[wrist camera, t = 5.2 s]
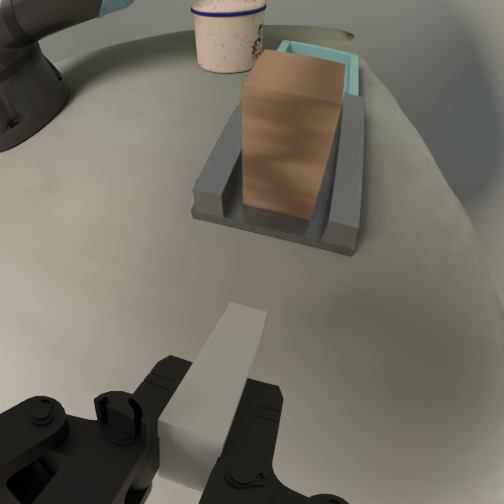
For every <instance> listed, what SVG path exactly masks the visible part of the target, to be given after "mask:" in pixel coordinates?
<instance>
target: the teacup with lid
mask: <svg viewBox="0 0 504 504" xmlns="http://www.w3.org/2000/svg"><path fill="white" fill-rule="evenodd" d="M265 9H266V4H265V1H264V0H196V1H195V2H194V3H193V4H192V7H191V12H192V13H193V17H194V27H195V39H196V49H197V59H198V64H199V65H200V66H201V67H202V68H203V69H205V70H208V71H211V72H216V73H237V72H243V71H247V70H250V69H252V68H253V66H254V65H255V63H256V62H257V60H258V59H259V57H260V56H261V54H262V53H263V31H264V10H265Z"/></svg>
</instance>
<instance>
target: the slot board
mask: <svg viewBox="0 0 504 504" xmlns="http://www.w3.org/2000/svg"><path fill="white" fill-rule="evenodd" d="M363 159H364V98H363V97H360V96H356V95H353V94H349V93H344V97H343V101H342V107H341V111H340V115H339V119H338V123H337V126H336V130H335V134H334V138H333V142H332V146H331V149H330V153H329V157H328V160H327V164H326V168H325V171H324V175H323V179H322V182H321V186H320V189H319V193H318V196H317V200H316V203H315V207H314V210H313V213H312V217H311V220H308V219H304V218H300V217H296V216H291V215H287V214H283V213H279V212H275V211H270V210H266V209H262V208H257V207H253V206H248V205H244V204H243V174H242V109H241V100H240V102H239V103H238V105H237V107H236V109H235V110H234V112H233V114H232V116H231V118H230V119H229V121H228V123H227V125H226V127H225V128H224V130H223V132H222V134H221V136H220V137H219V139H218V141H217V143H216V145H215V147H214V149H213V151H212V152H211V154H210V156H209V158H208V160H207V162H206V164H205V166H204V168H203V170H202V172H201V174H200V176H199V178H198V180H197V182H196V184H195V186H194V188H193V194H194V199H195V203H194V205H193V207H192V209H191V212H192V216H193V218H195V219H199V220H203V221H208V222H212V223H216V224H221V225H225V226H229V227H234V228H238V229H242V230H246V231H250V232H255V233H259V234H263V235H267V236H271V237H275V238H280V239H284V240H288V241H292V242H296V243H300V244H304V245H308V246H312V247H316V248H320V249H324V250H328V251H332V252H336V253H340V254H344V255H348V256H351V255H352V254H353V252H354V250H355V245H356V236H357V231H358V229H359V222H360V210H361V196H362V180H363Z"/></svg>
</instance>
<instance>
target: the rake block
mask: <svg viewBox="0 0 504 504" xmlns="http://www.w3.org/2000/svg"><path fill="white" fill-rule="evenodd" d="M345 65H346V64H343V63H338V62H334V61H330V60H325V59H321V58H316V57H311V56H305V55H300V54H294V53H288V52H282V51H275V50H268V49H265V50H264V51H263V53H262V54H261V56H260V57H259V59H258V60H257V62H256V63H255V65H254V66H253V68H252V69H251V71H250V72H249V74H248V75H247V77H246V79H245V80H244V82H243V83H242V85H241V109H242V174H243V204H244V205H248V206H253V207H257V208H262V209H266V210H270V211H275V212H279V213H283V214H287V215H291V216H296V217H300V218H304V219H308V220H311V217H312V213H313V210H314V207H315V203H316V200H317V196H318V193H319V189H320V186H321V182H322V179H323V175H324V171H325V168H326V164H327V160H328V157H329V153H330V149H331V146H332V142H333V138H334V134H335V130H336V126H337V123H338V119H339V115H340V111H341V107H342V100H343V89H344V78H345Z"/></svg>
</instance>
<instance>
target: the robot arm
mask: <svg viewBox="0 0 504 504" xmlns="http://www.w3.org/2000/svg"><path fill="white" fill-rule="evenodd" d="M133 2H134V0H0V152H2V151H5V150H7V149H9V148H12V147H14V146H15V145H17V144H19V143H21V142H22V141H24V140H25V139H27V138H28V137H30V136H31V135H33V134H34V133H35V132H37V131H38V130H39V129H40V128H42V127H43V126H44V125H45V124H46V123H48V122H49V121H50V120H51V119H52V118H53V117H54V116H55V115H56V114H57V113H58V112H59V110H60V109H61V108H62V107H63V105H64V104H65V102H66V101H67V99H68V96H69V88H68V85H67V82H66V80H65V78H64V76H63V75H62V74H61V73H60V72H59V71H58V70H57V69H56V68H55V66H54V65H53V64H52V63H51V62H50V61H49V60H48V59H47V58H46V57H45V56H44V54H43V53H42V51H41V49H40V46H39V43H38V40H41V39H43V38H45V37H47V36H50V35H52V34H54V33H57V32H59V31H62V30H64V29H67V28H69V27H72V26H74V25H77V24H80V23H83V22H85V21H88V20H91V19H94V18H97V17H98V18H102V17H103V16H104V15H107V14H110V13H112V12H116V11H119V10H122V9H125V8H127V7H128V6H130V5H131V4H132V3H133ZM267 314H268V312H267V311H263V310H260V309H256V308H252V307H248V306H245V305H241V304H237V303H234V302H230V304H229V305H228V307H227V308H226V310H225V312H224V313H223V315H222V317H221V318H220V320H219V322H218V323H217V325H216V326H215V328H214V330H213V331H212V333H211V335H210V336H209V338H208V339H207V341H206V343H205V344H204V346H203V348H202V349H201V351H200V352H199V354H198V356H197V357H196V359H195V361H194V362H190V361H187V360H184V359H181V358H178V357H175V356H172V355H170V356H168V357H166V358H164V359H162V360H160V361H158V363H157V364H156V365H155V366H154V368H153V369H152V370H151V372H150V373H149V374H148V375H147V377H146V378H145V379H144V382H142V383H141V384H140V386H139V387H138V388H137V389H136V391H135V392H134V393H133V394H130V393H127V392H123V391H110V392H106V393H103V394H100V395H99V396H98V397H96V398H95V399H94V404H95V410H96V415H97V420H88V419H84V418H79V417H75V416H71V415H67V414H66V413H65V410H64V408H63V407H62V405H61V404H60V403H59V402H58V401H56V400H55V399H53V398H50V397H46V396H35V397H32V398H29V399H27V400H25V401H23V402H21V403H19V404H18V405H16V406H14V407H12V408H10V409H8V410H7V411H5V412H3V413H1V414H0V504H144V503H145V501H146V499H147V498H148V496H149V494H150V492H151V488H152V479H153V478H154V476H155V474H156V472H157V470H158V474H159V476H160V477H163V478H165V479H168V480H171V481H173V482H176V483H179V484H182V485H184V486H187V487H190V488H193V489H196V490H199V491H203V494H202V496H201V499H200V502H199V504H349V503H348V502H346V501H345V500H344V499H343V498H340V497H338V496H335V495H333V494H318V495H314V496H311V497H306V496H304V495H302V494H300V493H297V492H295V491H293V490H291V489H289V488H288V487H286V486H284V485H283V484H282V483H281V482H280V481H279V480H278V479H277V477H276V475H275V474H274V471H273V468H272V460H273V455H274V450H275V444H276V439H277V433H278V428H279V422H280V416H281V411H282V405H283V399H284V398H283V396H282V393H281V391H280V388H279V386H276V385H272V384H268V383H264V382H260V381H256V380H253V379H250V376H251V373H252V370H253V367H254V363H255V360H256V356H257V352H258V348H259V345H260V341H261V337H262V333H263V330H264V326H265V322H266V318H267Z"/></svg>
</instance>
